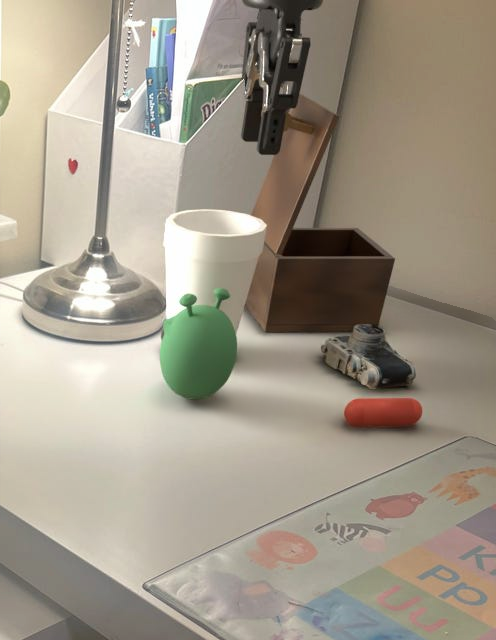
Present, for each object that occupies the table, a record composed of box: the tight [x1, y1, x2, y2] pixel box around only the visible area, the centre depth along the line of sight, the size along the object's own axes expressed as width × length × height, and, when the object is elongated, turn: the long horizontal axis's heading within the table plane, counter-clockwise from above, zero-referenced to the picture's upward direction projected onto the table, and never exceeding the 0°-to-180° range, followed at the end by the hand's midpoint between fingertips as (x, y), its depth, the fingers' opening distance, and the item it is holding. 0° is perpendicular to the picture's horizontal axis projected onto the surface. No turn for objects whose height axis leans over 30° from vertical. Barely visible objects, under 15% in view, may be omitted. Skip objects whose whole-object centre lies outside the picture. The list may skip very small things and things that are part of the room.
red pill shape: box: [343, 397, 423, 428], centre depth 87 cm, size 7×2×2 cm, turn 94°
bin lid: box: [250, 93, 341, 255], centre depth 101 cm, size 13×12×5 cm
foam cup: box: [163, 208, 267, 334], centre depth 97 cm, size 10×9×13 cm
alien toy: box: [159, 288, 238, 400], centre depth 90 cm, size 7×8×10 cm
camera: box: [319, 324, 417, 390], centre depth 97 cm, size 5×10×4 cm, turn 16°
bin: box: [245, 227, 396, 333], centre depth 109 cm, size 13×12×8 cm
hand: (259, 146), depth 100 cm, fingers open, 5 cm apart
